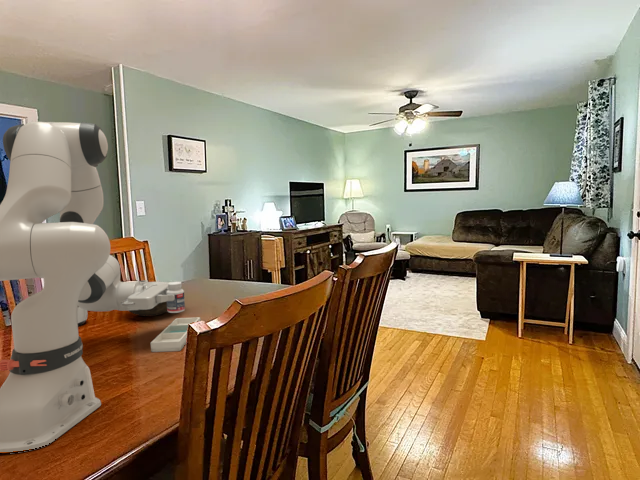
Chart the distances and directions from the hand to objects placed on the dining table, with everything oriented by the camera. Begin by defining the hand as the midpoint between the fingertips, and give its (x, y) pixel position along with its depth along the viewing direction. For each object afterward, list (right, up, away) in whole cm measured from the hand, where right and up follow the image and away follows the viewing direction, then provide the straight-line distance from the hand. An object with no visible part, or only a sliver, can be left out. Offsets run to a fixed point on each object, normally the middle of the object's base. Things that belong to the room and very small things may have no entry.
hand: (178, 294), depth 126 cm
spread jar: (-44, -14, +15) cm, 49 cm away
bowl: (-19, -12, +28) cm, 36 cm away
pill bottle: (-1, -5, +1) cm, 5 cm away
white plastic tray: (0, -14, +1) cm, 14 cm away
